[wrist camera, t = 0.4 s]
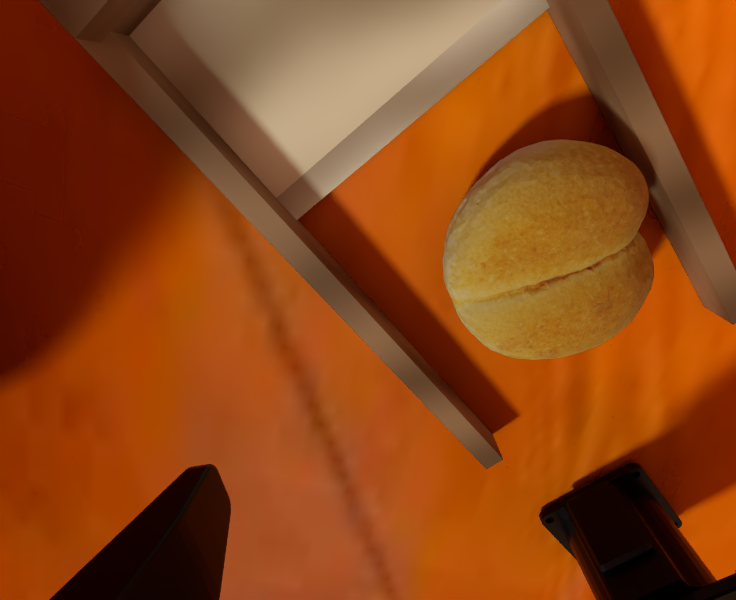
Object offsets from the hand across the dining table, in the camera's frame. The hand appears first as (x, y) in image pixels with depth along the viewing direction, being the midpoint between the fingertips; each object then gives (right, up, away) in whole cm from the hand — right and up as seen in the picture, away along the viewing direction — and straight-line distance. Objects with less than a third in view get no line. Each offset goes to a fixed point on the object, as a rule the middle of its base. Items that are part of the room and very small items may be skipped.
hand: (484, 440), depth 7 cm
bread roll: (+2, +6, +12) cm, 14 cm away
